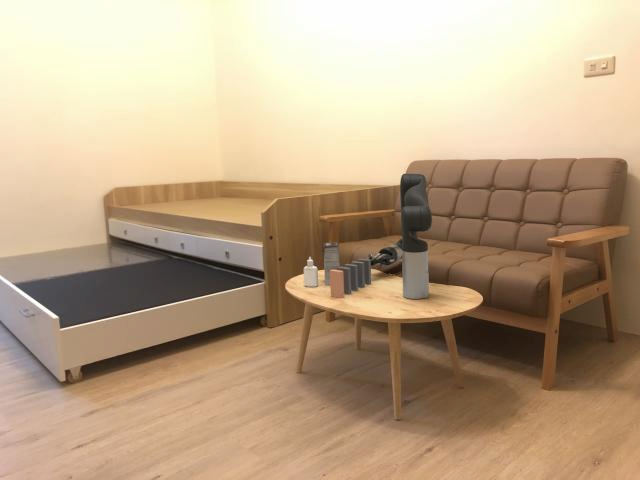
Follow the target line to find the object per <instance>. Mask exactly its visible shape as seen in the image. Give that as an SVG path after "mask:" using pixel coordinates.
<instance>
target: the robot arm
mask: <svg viewBox="0 0 640 480" xmlns="http://www.w3.org/2000/svg"><path fill="white" fill-rule="evenodd" d="M399 182H400V183H399V193H400V196H399V197H400V198H399V199H400V224H401V226H400V228H401V229H400V235H401V238H400V239H398V241H397V242H396V243H395V244H393V245H388V246H386V247H384V248H381V249H380V250H379V251H378V253H376V254H374V255H372V254H367V259H368V260H371V267H373V266H376V265H377V266H378V265H380V266H381V265H384V266H391V265H393V264H394V263H397V262H398V261H400V260H401V261H402V296H403V297H404V298H406V299H411V300H422V299H428V298H430V294H429V292H430V291H429V288H430V287H429V285H430V284H429V283H430V282H429V277H430V276H429V246H428V245H429V244H428V242H427V241H426V240H423V239H420V238H418V233H417V232H419V233H420V232H422V233H424V232H427V231H429V230H430V229H431V227H432V225H433V216H432V215H433V214H432V211H431V208H430V205H429V196H428V193H427V178H426V177H425V175H424V174H422V173H403V174H402V175H401V176H400V181H399Z"/></svg>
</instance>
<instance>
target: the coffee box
mask: <svg viewBox="0 0 640 480" xmlns="http://www.w3.org/2000/svg"><path fill="white" fill-rule="evenodd" d="M339 243H340V242H339V241H329V242H326V241H324V242H323V261H324V262H323V267H324V269H323V270H324V272H323V273H324V285H325V286H328V285H329V286H330V270H337V267H341V265H340V263H341V262H340V244H339Z"/></svg>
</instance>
